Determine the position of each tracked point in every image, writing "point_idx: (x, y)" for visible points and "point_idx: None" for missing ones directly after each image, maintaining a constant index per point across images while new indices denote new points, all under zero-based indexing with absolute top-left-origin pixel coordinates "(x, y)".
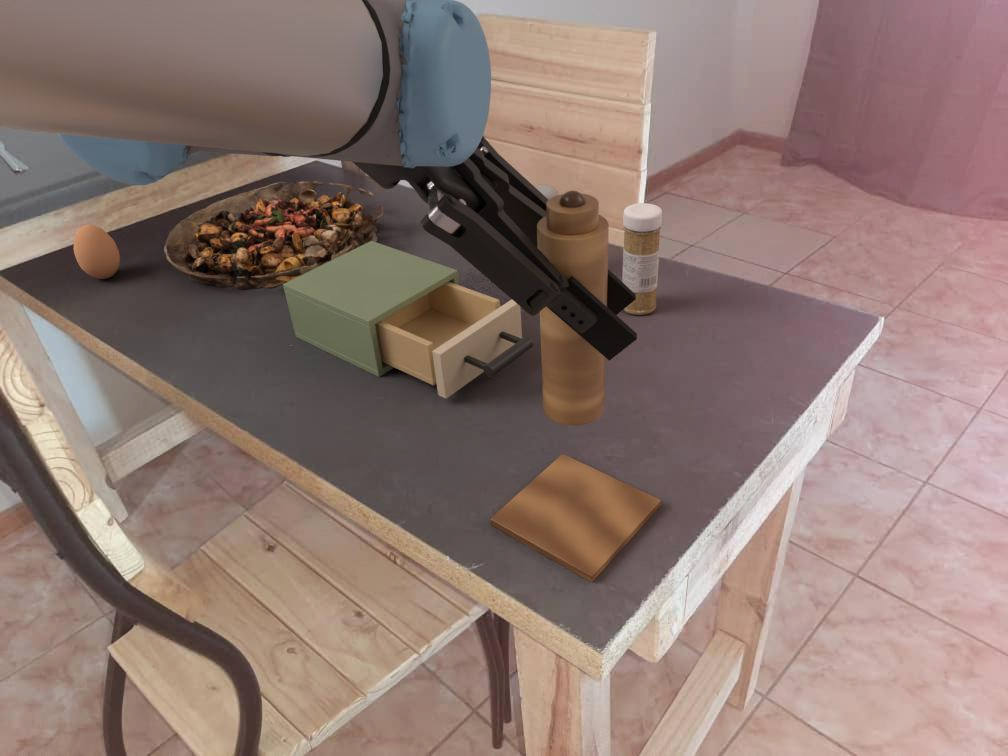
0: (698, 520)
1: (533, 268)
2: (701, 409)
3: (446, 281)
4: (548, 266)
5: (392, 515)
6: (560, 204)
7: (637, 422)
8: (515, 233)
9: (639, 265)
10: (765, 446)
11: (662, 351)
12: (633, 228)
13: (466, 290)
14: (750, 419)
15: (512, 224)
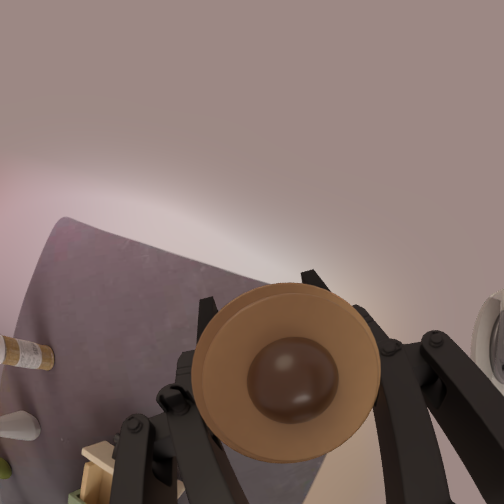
0: (253, 284)
1: (464, 370)
2: (141, 301)
3: (82, 501)
4: (404, 374)
5: (315, 471)
6: (325, 410)
7: (164, 344)
8: (435, 451)
9: (25, 353)
10: (171, 256)
11: (85, 336)
12: (3, 355)
13: (84, 487)
14: (146, 268)
15: (417, 476)
